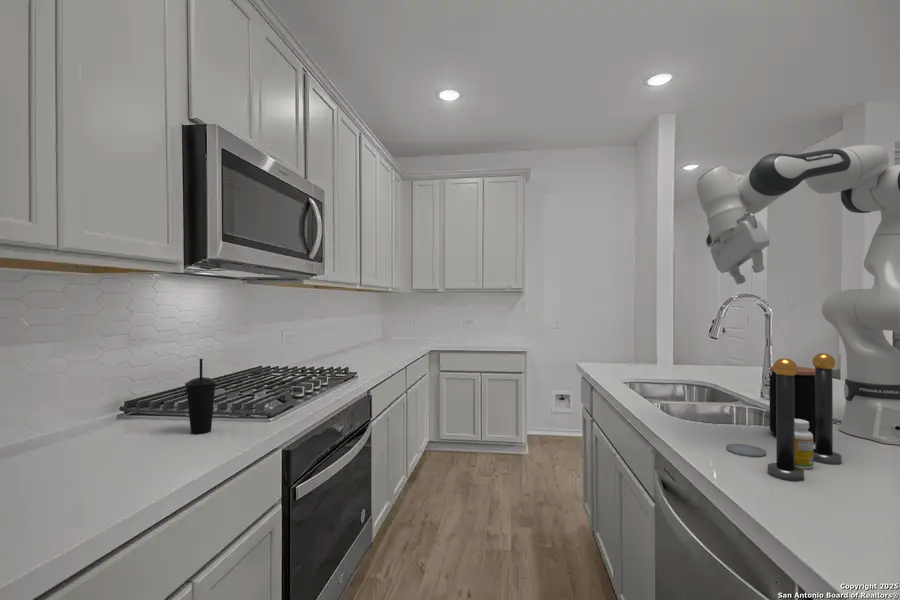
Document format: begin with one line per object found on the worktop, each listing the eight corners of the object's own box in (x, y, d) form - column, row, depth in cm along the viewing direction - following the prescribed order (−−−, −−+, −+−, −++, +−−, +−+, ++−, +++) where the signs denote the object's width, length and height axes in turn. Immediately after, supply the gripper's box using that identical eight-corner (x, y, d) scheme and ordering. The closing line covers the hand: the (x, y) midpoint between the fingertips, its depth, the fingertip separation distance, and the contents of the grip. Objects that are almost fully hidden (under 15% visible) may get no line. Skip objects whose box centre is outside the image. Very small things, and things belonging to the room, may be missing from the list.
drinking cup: (183, 430, 125) (184, 358, 125) (214, 426, 130) (215, 356, 130) (185, 437, 119) (185, 361, 119) (218, 432, 123) (218, 359, 123)
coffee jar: (812, 433, 122) (811, 366, 122) (827, 445, 112) (827, 372, 112) (764, 429, 126) (764, 364, 126) (776, 440, 116) (775, 370, 116)
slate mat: (764, 449, 109) (764, 446, 109) (768, 459, 102) (768, 456, 102) (725, 444, 113) (725, 441, 113) (726, 453, 106) (726, 451, 106)
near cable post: (801, 473, 94) (800, 357, 94) (806, 483, 89) (806, 360, 89) (765, 468, 97) (765, 355, 97) (769, 477, 92) (769, 359, 92)
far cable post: (837, 458, 103) (837, 352, 103) (844, 466, 98) (844, 355, 98) (804, 453, 106) (804, 351, 106) (809, 461, 101) (809, 353, 101)
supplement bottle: (777, 460, 102) (777, 416, 102) (804, 461, 101) (804, 418, 101) (790, 468, 97) (790, 423, 97) (819, 470, 96) (819, 424, 96)
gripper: (764, 205, 105) (787, 260, 101) (726, 239, 125) (744, 286, 121) (736, 211, 106) (757, 266, 102) (702, 244, 125) (719, 291, 121)
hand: (750, 277), depth 111 cm, fingers open, 8 cm apart
